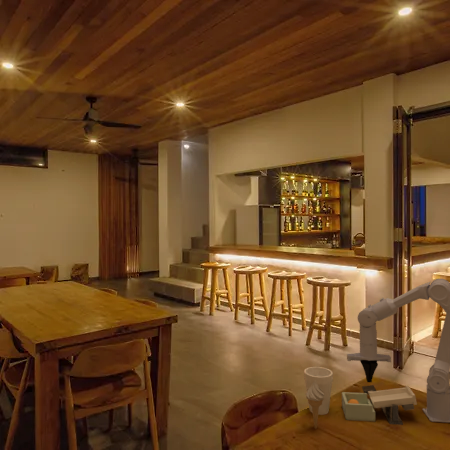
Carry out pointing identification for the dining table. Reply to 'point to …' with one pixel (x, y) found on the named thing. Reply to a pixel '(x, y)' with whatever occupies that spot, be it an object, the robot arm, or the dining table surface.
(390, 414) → the lever stand
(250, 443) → the dining table surface
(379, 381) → the dining table surface
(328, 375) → the foam cup
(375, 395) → the lever board
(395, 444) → the dining table surface
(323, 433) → the dining table surface
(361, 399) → the cup
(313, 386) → the ice cream cone
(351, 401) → the ball
